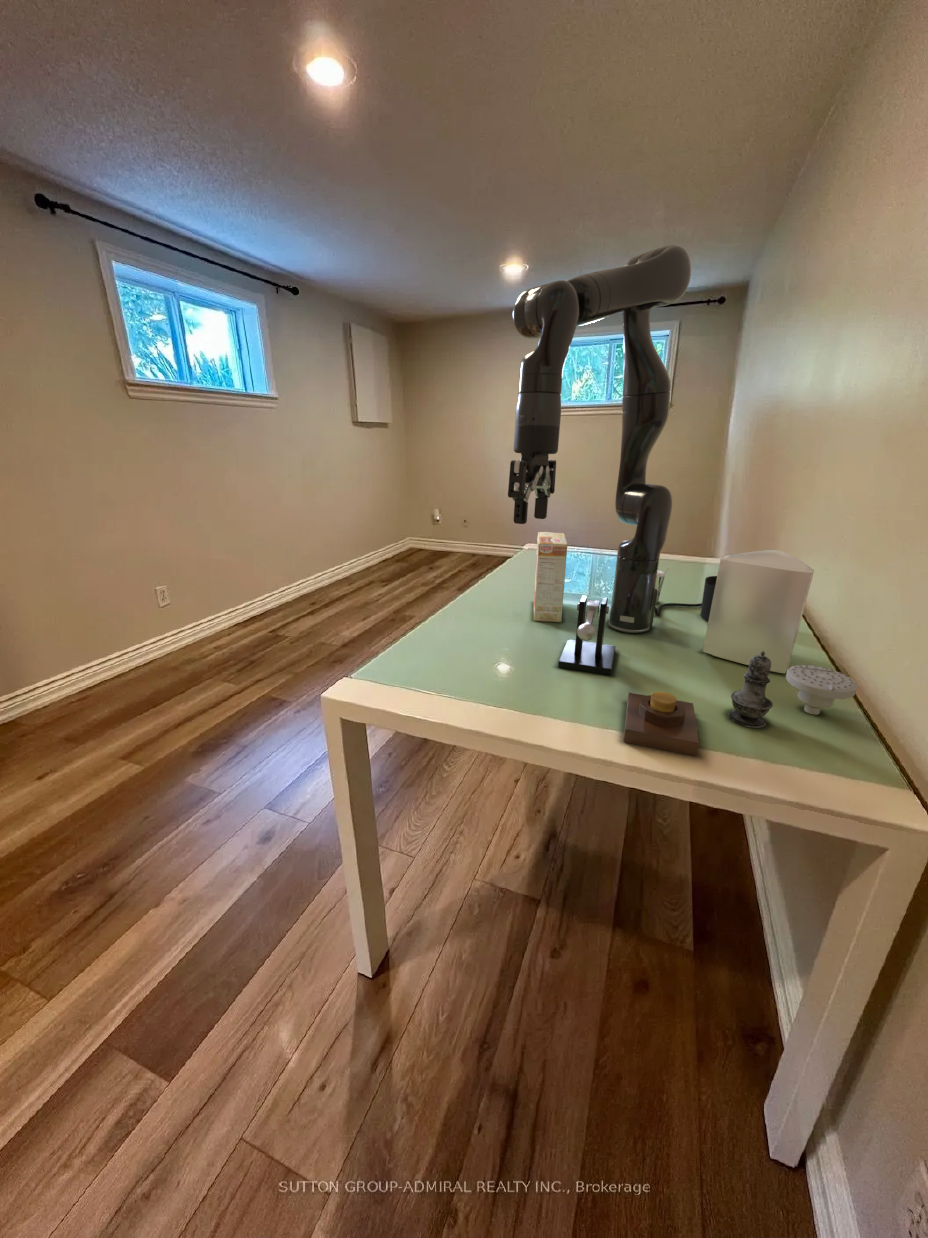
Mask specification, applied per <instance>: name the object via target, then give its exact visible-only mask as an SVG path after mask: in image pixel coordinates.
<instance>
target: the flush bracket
mask: <svg viewBox="0 0 928 1238" xmlns="http://www.w3.org/2000/svg"><path fill="white" fill-rule="evenodd" d="M608 601H609V598H608V597H602V598H601V601H600V605H599V614H598V624H597V625H598V626H597V633H596V634H597V635H596V641H595V642H591V641H584V640H582V639H580V638H579V637H578V634H577V631H576V632H575V633H576V634H575V639H567V640H566V643H565V645H564V647H563V649H562V652H561V654H560V656H559V659H558V664H557V667H558V668H560V669H566V670H572V671H578V672H586V673H591V674H598V675H604V676H611V675H612V670H613V664H614V658H615V653H616V645H612V644H606V643H605V644H604V635H605V627H606V618H607V614H609V613H610V606H608ZM587 603H588V595H581V597H580V600H579V601H578V603H577V605H576V610H577V611H578V613H577V622H576V630H577V629H578V627H579V626H580V625H581V624H583V623H585V622H586V609H587Z"/></svg>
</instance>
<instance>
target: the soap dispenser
mask: <svg viewBox="0 0 928 1238" xmlns="http://www.w3.org/2000/svg"><path fill="white" fill-rule="evenodd" d="M814 573H815V569H814V568H812V567H811V566H809V565H808V564H807V563H805V561H803V560H802V559H800V558H798V557H796V556H795V555H793V554H791V553H789V552H786V551H782V550H779V549H763V550H755V551H748V552H742V553H734V554H729V555H726V556H723V557H721V558H720V561H719V565H718V570H717V575H716V576H717V580H716V585H715V590H714V595H713V600H712V606H711V611H710V616H709V621H707V626H706V632H705V637H704V642H703V647H702V652H704V653H706V654H708V655H711V656H713V657H717V658H720V659H724V660H727V661H731V662H735V663H739V664H743V665H746V666H749V664H750V660H751V658H752V657H753V656H757V655H761V654H760V653H761V652H763V651H764V652H765V655H764V656H765V657H767V658H769V659H770V661H771V668H770V672H773V673H779V674H780V673H781V674H785V675H786V674H787V670H788V668H790V664H791V660H792V656H793V652H794V649H795V645H796V640H797V637H798V633H799V629H800V625H801V621H802V618H803V615H804V611H805V606H806V603H807V600H808V595H809V591H810V588H811V584H812V580H813V576H814Z"/></svg>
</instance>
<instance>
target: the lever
mask: <svg viewBox="0 0 928 1238" xmlns="http://www.w3.org/2000/svg"><path fill="white" fill-rule="evenodd" d="M600 606H601V600H597V599H587V604H586V614H585V617H586V618H585V623H583V624H581V625H580V626H579V627H578V629H577V628H576V632H577V634H578V637H579V638H580V639H582V640H583V641H584V642H590V641H591V640H592V639H594V638H595V636H596V628H595V626H594V625H593V623H594V618H599V614H600Z"/></svg>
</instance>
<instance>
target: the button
mask: <svg viewBox="0 0 928 1238" xmlns="http://www.w3.org/2000/svg"><path fill="white" fill-rule="evenodd" d="M650 695H651V701H650V707H651V708H653V709H655V710H657V711H660V712H666V713H668V712H674V711H675V706H676V701H677V697H676V696H675V695H673V694H671V693H668V692H665V691H655V692H652V693H651V694H650Z"/></svg>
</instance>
